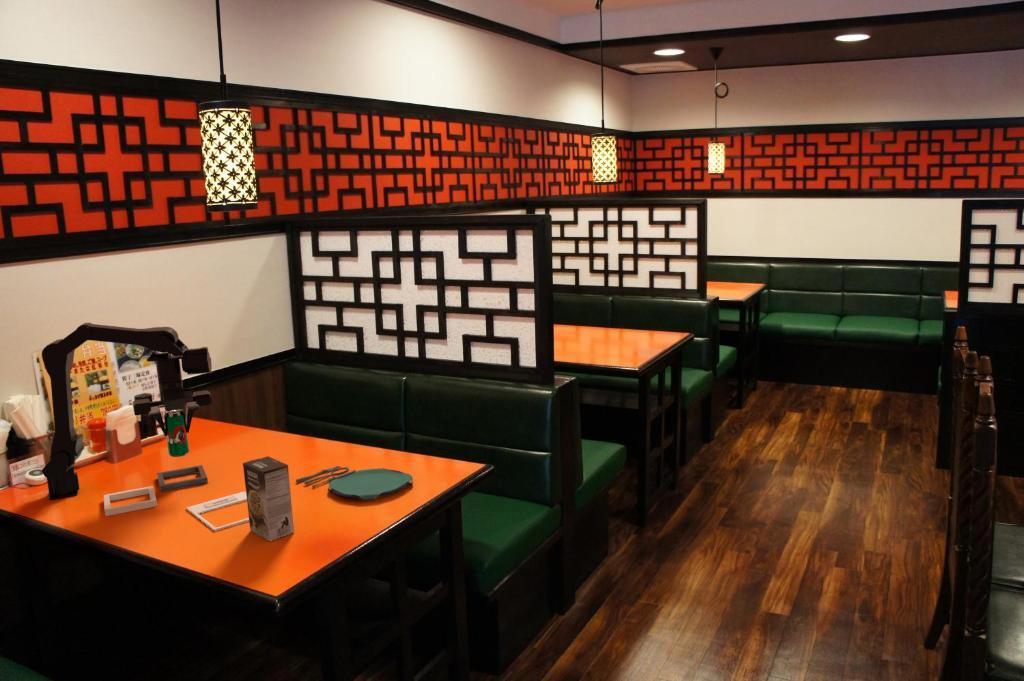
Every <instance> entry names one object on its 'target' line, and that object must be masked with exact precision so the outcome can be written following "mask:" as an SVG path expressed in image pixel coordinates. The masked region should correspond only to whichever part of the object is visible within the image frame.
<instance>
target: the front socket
mask: <svg viewBox="0 0 1024 681" xmlns="http://www.w3.org/2000/svg"><path fill="white" fill-rule="evenodd" d="M144 495H149V499H148V500H143V501H138V502H132V503H127V504H122V505H117V506H111V502H113V501H119V500H123V499H130V498H134V497H139V496H144ZM157 501H158V500H157V496H156V492H155V488H154V485H151V486H145V487H140V488H135V489H134V488H133V489H129V490H123V491H118V492H113V493H108V494H103V504H104V505H103V506H104V514H105V517H108V516H114V515H119V514H123V513H124V514H125V513H128V512H135V511H139V510H140V511H141V510H144V509H149V508H154V507H158V503H157Z"/></svg>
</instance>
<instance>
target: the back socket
mask: <svg viewBox="0 0 1024 681" xmlns="http://www.w3.org/2000/svg"><path fill="white" fill-rule="evenodd" d="M197 473H198V475H199V477H195V478H190V479H184V480H179V481H174V482H168V483H165V479H171V478H175V477H180V476H186V475H192V474H197ZM156 477H157V482H158V484H159V485H158V486H159V488H160V489H159V490H160V492H161V493H163V492H168V491H172V489H173V490H178V489H177V488H179V489H182V487H184V488H189V487H194V485H195V486H199V485H205V484H208V483H209V480H208V476H207V474H206V470H205V469H204V466H203V464H201V465H195V466H190V467H184V468H179V469H178V468H177V469H172V470H167V471H161V472H157V473H156Z"/></svg>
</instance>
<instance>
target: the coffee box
mask: <svg viewBox="0 0 1024 681" xmlns="http://www.w3.org/2000/svg"><path fill="white" fill-rule="evenodd" d="M242 467H243V468H242V469H243V475H244V484H245V485H244V486H245V492H246V496H247V501H246V504H247V513H248V518H249V521H248V522H249V528H250V529H249V530H250V532H252V533H253V534H255V535H257V536H259V537H261V538H262V539H264V540H266V541H267V540H268V542H269V541H271V540H274V539H276V540H278V539H277V538H279V539H281V538H280V537H282V538H284V537H283V536H285V537H287V536H286V535H288V536H290V535H292V534H291V533H293V534H295V529H294V518H293V507H292V494H291V493H292V492H291V482H290V473H289V472H290V471H289V465H288V464H287V463H284V462H282V461H280V460H278V459H276V458H274V457H271V456H263V457H261V458H255V459H251V460H248V461H245V462H242ZM289 534H290V535H289ZM274 541H275V540H274ZM271 542H272V541H271Z"/></svg>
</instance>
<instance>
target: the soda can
mask: <svg viewBox="0 0 1024 681" xmlns="http://www.w3.org/2000/svg"><path fill="white" fill-rule="evenodd" d="M163 422H164V426H165V429H166V435H167V436H165V437H166V442H167V443H166V444H167V451H168V455H169V456H170V457H173V458H179V457H184V456H186V455H188V454H189V452H190V446H189V445H190V444H189V438H188V433H187V428H186V412H184V410H183V409H181V410H180V409H177V410H172V411H166V410H164V415H163Z"/></svg>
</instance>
